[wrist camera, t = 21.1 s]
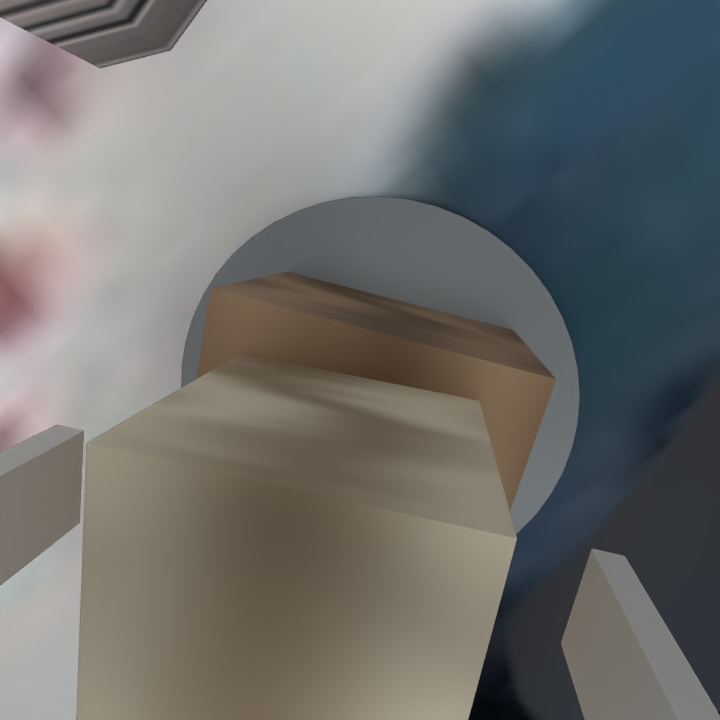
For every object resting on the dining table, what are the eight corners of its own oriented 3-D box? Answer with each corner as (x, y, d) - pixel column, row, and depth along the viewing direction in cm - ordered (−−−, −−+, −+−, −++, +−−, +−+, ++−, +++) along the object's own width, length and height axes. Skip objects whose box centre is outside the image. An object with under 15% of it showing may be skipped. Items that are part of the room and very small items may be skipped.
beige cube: (218, 559, 17) (74, 770, 10) (241, 353, 15) (86, 442, 9) (430, 610, 16) (427, 872, 10) (479, 400, 15) (516, 538, 8)
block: (246, 474, 25) (162, 578, 17) (287, 271, 23) (210, 288, 15) (448, 534, 24) (454, 670, 17) (513, 330, 22) (556, 379, 14)
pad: (180, 517, 28) (166, 532, 27) (215, 168, 24) (200, 163, 22) (516, 599, 26) (520, 620, 25) (621, 238, 22) (634, 238, 20)
